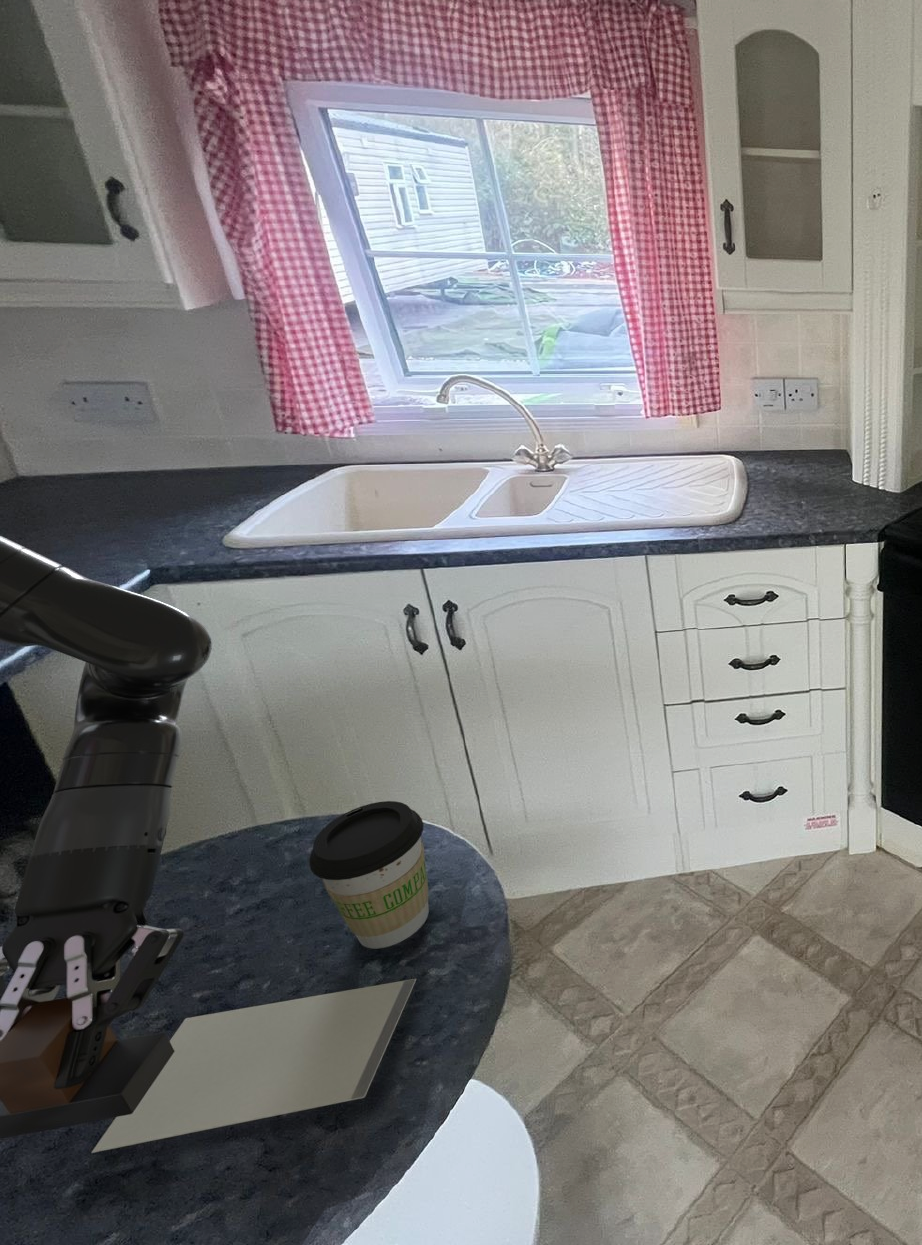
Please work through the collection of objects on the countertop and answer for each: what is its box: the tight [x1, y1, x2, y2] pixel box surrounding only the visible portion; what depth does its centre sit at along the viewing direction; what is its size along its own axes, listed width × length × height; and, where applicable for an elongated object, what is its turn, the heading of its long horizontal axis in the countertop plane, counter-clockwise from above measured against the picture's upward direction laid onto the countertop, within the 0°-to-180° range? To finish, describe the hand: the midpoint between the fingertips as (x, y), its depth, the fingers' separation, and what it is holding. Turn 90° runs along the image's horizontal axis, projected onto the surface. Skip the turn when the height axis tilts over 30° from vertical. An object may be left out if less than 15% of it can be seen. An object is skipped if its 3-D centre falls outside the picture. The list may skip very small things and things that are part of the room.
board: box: [90, 978, 417, 1154], centre depth 73 cm, size 20×12×2 cm, turn 104°
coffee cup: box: [309, 800, 430, 950], centre depth 84 cm, size 10×10×15 cm
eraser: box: [0, 997, 174, 1140], centre depth 60 cm, size 10×5×8 cm, turn 104°
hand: (36, 1090), depth 58 cm, fingers closed on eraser, 3 cm apart
